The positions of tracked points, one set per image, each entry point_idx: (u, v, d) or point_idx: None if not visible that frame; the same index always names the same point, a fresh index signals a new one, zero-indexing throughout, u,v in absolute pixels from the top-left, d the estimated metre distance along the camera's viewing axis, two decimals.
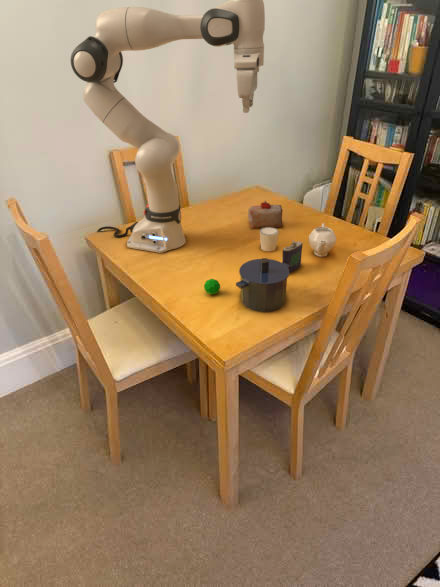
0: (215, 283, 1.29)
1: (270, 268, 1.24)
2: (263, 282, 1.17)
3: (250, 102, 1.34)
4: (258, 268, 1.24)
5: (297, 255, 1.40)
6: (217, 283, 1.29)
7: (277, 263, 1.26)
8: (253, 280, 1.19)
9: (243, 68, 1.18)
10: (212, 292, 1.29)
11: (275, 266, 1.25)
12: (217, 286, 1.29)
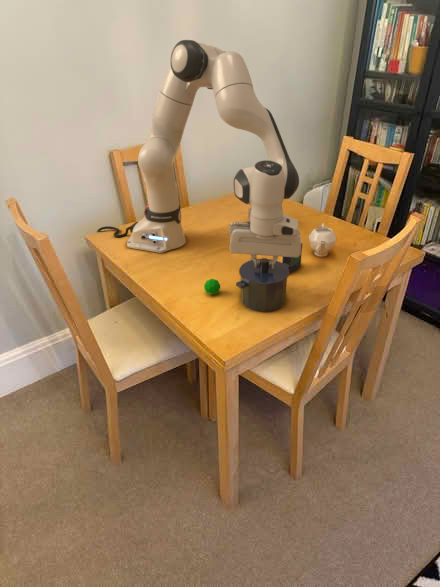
0: (215, 283, 1.28)
1: None
2: (263, 282, 1.17)
3: (259, 262, 1.22)
4: (258, 268, 1.24)
5: None
6: (217, 283, 1.29)
7: (277, 263, 1.26)
8: (253, 280, 1.19)
9: None
10: (212, 292, 1.29)
11: (275, 266, 1.25)
12: (217, 286, 1.29)
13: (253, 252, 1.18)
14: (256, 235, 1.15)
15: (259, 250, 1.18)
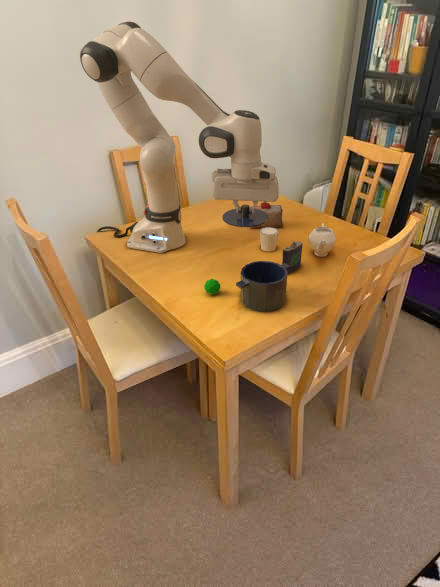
0: (215, 283, 1.28)
1: (251, 214, 1.34)
2: (243, 224, 1.28)
3: None
4: (240, 214, 1.35)
5: (297, 255, 1.40)
6: (217, 283, 1.29)
7: (258, 211, 1.37)
8: (234, 223, 1.29)
9: (273, 176, 1.25)
10: (212, 292, 1.29)
11: (256, 213, 1.35)
12: (217, 286, 1.29)
13: (234, 197, 1.29)
14: (237, 180, 1.26)
15: (240, 195, 1.28)
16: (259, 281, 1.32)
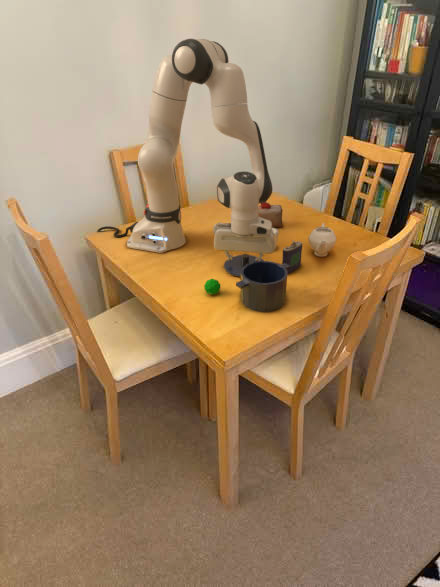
0: (215, 283, 1.28)
1: None
2: None
3: (232, 257, 1.43)
4: (240, 263, 1.45)
5: (297, 255, 1.40)
6: (217, 283, 1.29)
7: None
8: (235, 273, 1.40)
9: None
10: (212, 292, 1.29)
11: (255, 261, 1.46)
12: (217, 286, 1.29)
13: (234, 249, 1.39)
14: (236, 234, 1.36)
15: (239, 246, 1.38)
16: (259, 281, 1.32)
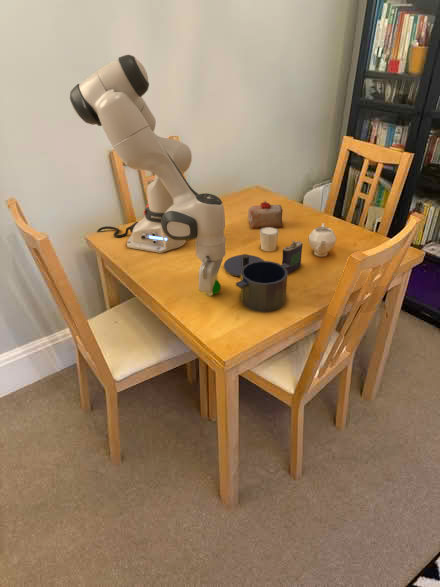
0: (215, 283, 1.28)
1: None
2: None
3: None
4: (240, 263, 1.45)
5: (297, 255, 1.40)
6: (217, 283, 1.29)
7: (256, 259, 1.47)
8: (235, 273, 1.40)
9: None
10: None
11: (255, 261, 1.46)
12: (217, 286, 1.29)
13: (215, 279, 1.25)
14: (216, 261, 1.23)
15: (216, 273, 1.26)
16: (259, 281, 1.32)
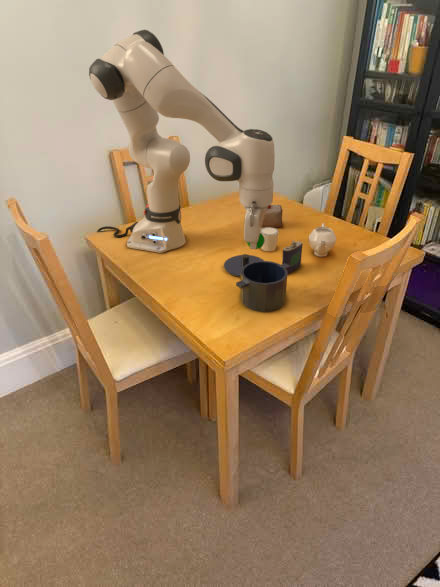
0: (259, 236, 1.16)
1: None
2: None
3: None
4: (240, 263, 1.45)
5: (297, 255, 1.40)
6: (262, 236, 1.16)
7: (256, 259, 1.47)
8: (235, 273, 1.40)
9: None
10: None
11: (255, 261, 1.46)
12: (262, 239, 1.16)
13: (260, 229, 1.12)
14: (262, 209, 1.10)
15: (261, 224, 1.13)
16: (259, 281, 1.32)
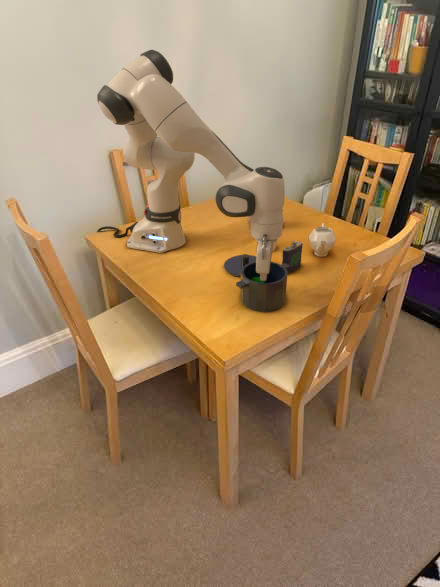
0: (255, 277, 1.28)
1: None
2: None
3: None
4: (240, 263, 1.45)
5: (297, 255, 1.40)
6: (258, 277, 1.28)
7: None
8: (235, 273, 1.40)
9: None
10: None
11: (255, 261, 1.46)
12: (258, 278, 1.27)
13: None
14: (272, 241, 1.15)
15: (271, 254, 1.18)
16: None
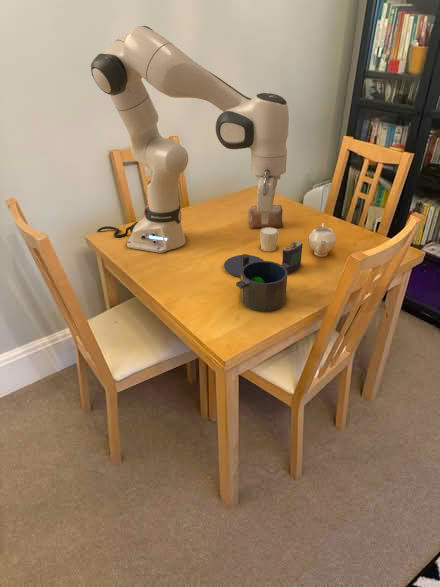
0: (255, 277, 1.28)
1: None
2: None
3: None
4: (240, 263, 1.45)
5: (297, 255, 1.40)
6: (258, 277, 1.28)
7: (256, 259, 1.47)
8: (235, 273, 1.40)
9: None
10: None
11: (255, 261, 1.46)
12: (258, 278, 1.27)
13: (273, 200, 1.08)
14: (275, 178, 1.05)
15: None
16: None
